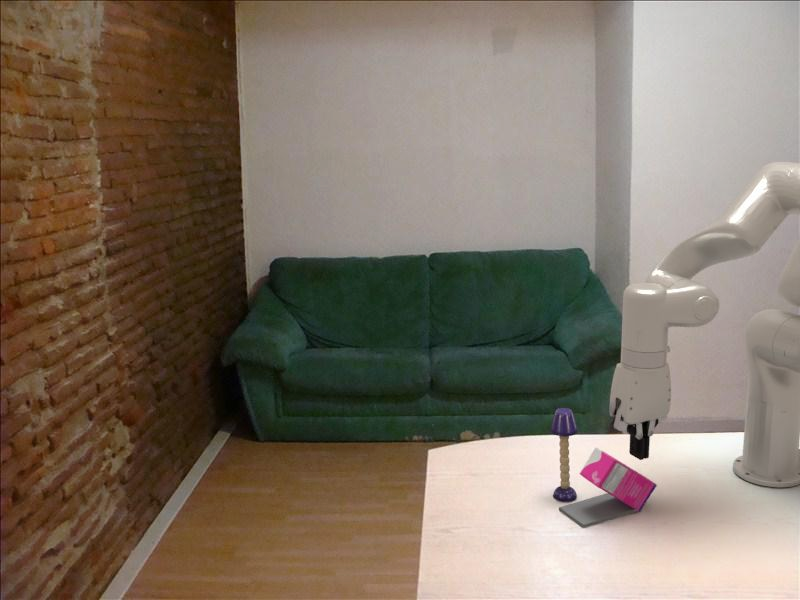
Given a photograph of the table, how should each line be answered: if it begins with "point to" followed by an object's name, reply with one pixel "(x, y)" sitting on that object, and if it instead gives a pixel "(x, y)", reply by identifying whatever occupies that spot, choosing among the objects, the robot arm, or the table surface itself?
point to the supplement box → (617, 479)
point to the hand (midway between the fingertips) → (638, 456)
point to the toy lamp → (564, 452)
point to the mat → (596, 510)
